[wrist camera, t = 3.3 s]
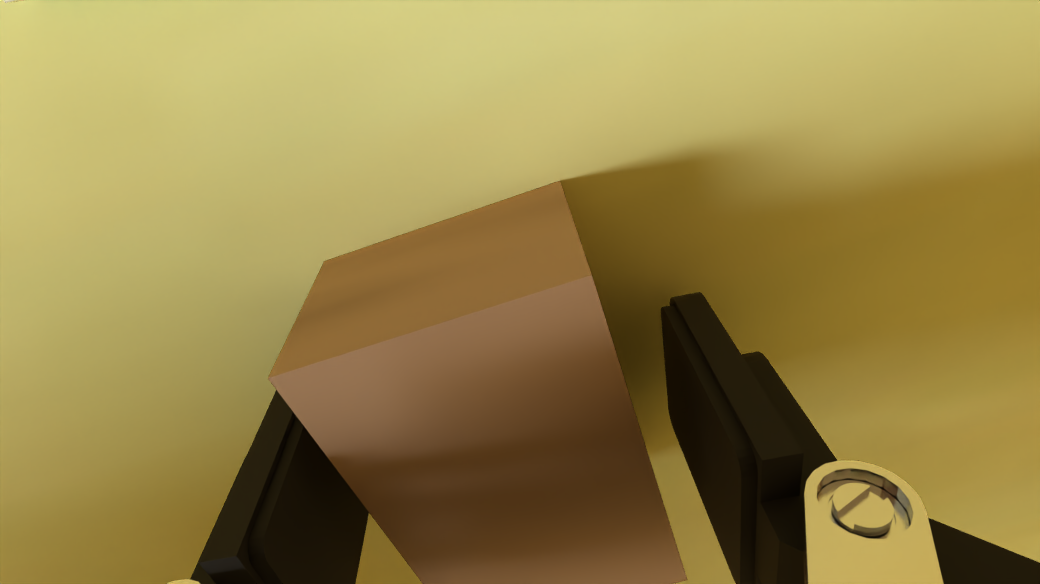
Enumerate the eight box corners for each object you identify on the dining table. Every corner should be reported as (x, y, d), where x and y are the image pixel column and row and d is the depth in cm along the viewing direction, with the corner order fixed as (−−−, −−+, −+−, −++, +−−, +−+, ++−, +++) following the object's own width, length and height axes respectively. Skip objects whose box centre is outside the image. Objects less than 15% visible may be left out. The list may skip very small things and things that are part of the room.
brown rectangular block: (641, 440, 14) (687, 579, 11) (465, 490, 14) (462, 635, 11) (558, 176, 10) (591, 274, 7) (327, 255, 11) (267, 378, 8)
